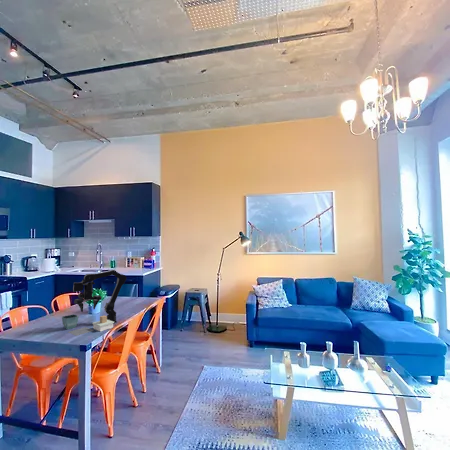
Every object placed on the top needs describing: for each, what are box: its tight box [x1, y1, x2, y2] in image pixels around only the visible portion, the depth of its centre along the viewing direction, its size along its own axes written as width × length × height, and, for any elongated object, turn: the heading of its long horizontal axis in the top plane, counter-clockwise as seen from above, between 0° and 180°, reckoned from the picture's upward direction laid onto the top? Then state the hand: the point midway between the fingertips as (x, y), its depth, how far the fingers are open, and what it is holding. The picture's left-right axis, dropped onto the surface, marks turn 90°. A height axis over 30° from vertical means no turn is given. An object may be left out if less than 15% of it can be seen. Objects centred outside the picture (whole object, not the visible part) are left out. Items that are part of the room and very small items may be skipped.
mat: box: [67, 326, 95, 337], centre depth 199 cm, size 13×13×1 cm
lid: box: [92, 315, 115, 327], centre depth 205 cm, size 11×11×5 cm
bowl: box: [92, 323, 114, 332], centre depth 205 cm, size 10×10×4 cm
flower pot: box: [61, 314, 79, 330], centre depth 207 cm, size 9×9×9 cm
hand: (88, 310), depth 211 cm, fingers open, 9 cm apart
